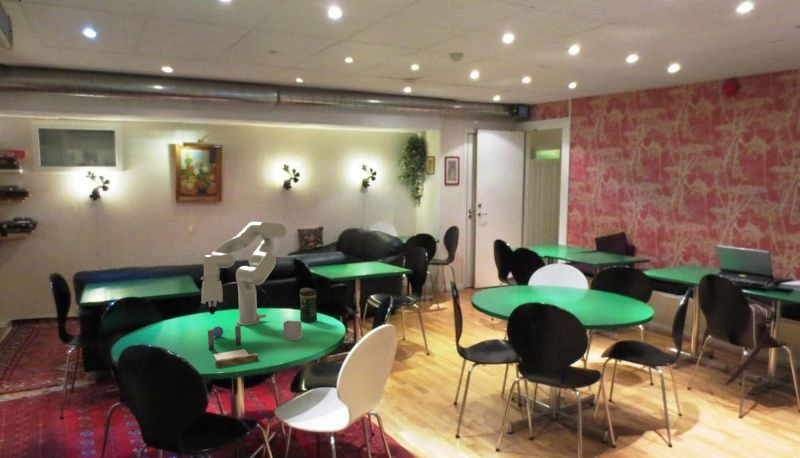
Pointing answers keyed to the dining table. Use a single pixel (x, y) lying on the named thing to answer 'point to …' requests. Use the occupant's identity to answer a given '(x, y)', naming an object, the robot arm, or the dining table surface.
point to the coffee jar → (308, 305)
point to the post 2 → (238, 335)
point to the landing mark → (230, 354)
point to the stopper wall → (236, 360)
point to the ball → (218, 331)
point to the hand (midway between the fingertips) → (212, 313)
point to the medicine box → (292, 330)
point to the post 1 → (211, 339)
